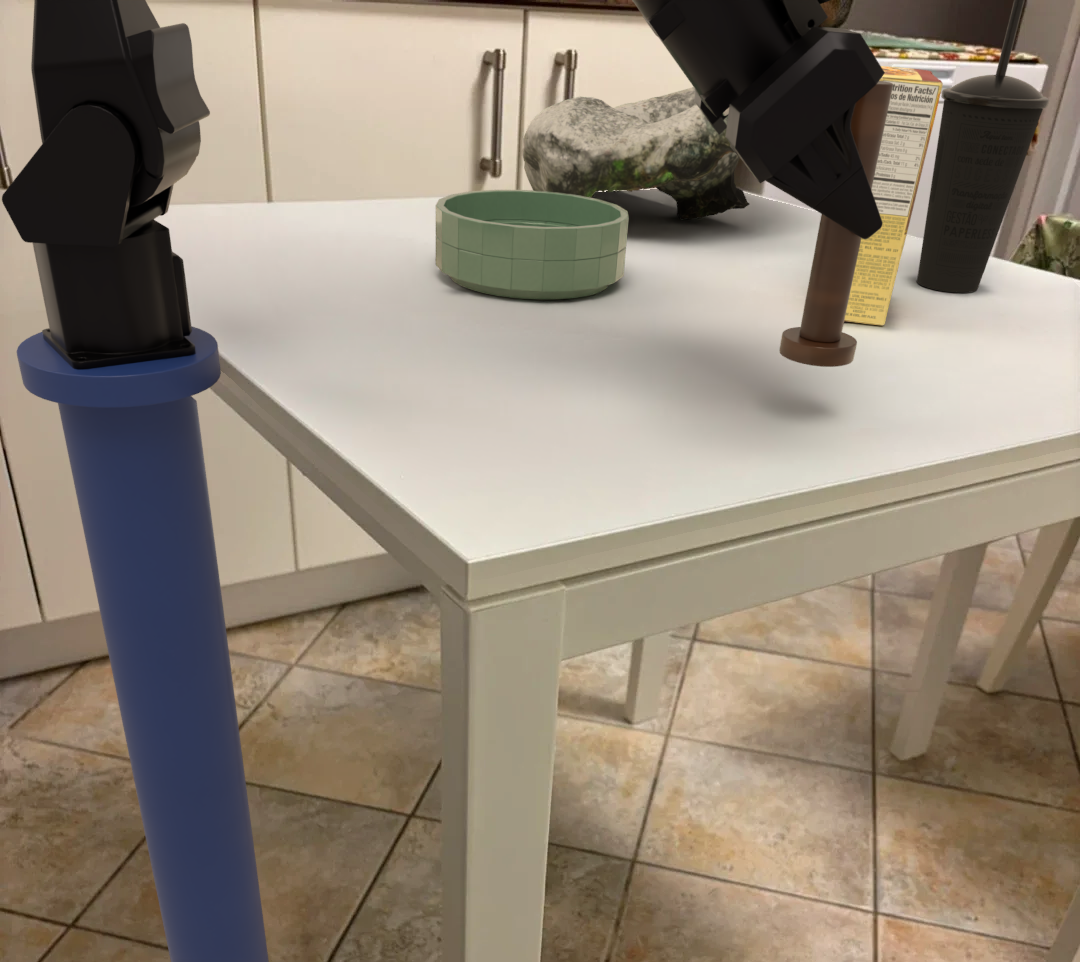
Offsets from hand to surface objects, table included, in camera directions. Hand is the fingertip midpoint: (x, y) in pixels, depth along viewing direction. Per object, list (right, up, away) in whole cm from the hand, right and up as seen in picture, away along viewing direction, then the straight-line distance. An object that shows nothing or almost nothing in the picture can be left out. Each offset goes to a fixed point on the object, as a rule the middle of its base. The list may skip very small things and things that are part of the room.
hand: (868, 227), depth 56 cm
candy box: (+7, +5, +26) cm, 27 cm away
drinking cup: (+16, +10, +34) cm, 39 cm away
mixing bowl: (-18, +9, +28) cm, 34 cm away
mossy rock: (-5, +24, +52) cm, 57 cm away
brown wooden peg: (-2, -5, +4) cm, 7 cm away
